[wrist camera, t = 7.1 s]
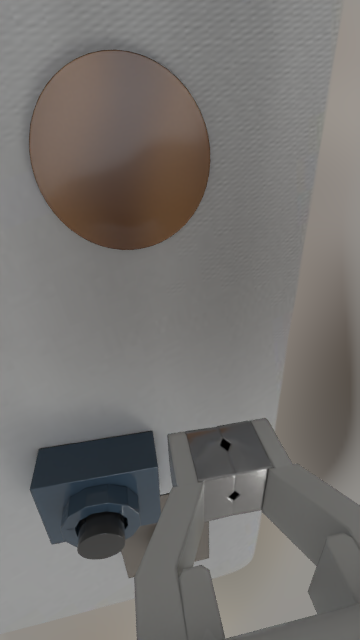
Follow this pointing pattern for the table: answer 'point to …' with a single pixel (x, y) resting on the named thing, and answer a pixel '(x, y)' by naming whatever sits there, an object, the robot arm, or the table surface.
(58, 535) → the blue push button box
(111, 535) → the dark grey push button
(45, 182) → the coaster
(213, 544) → the table surface
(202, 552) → the platform
